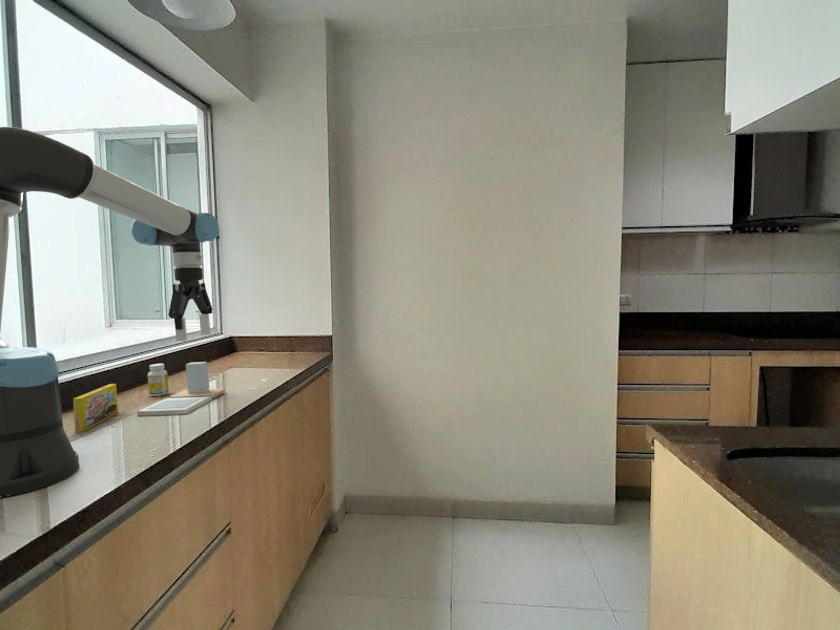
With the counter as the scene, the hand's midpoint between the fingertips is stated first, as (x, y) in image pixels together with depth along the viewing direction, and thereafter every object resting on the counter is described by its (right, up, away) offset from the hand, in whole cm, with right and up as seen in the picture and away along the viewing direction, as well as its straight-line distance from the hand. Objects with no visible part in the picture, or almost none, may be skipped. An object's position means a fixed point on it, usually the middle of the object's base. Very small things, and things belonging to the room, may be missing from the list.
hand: (194, 337), depth 135 cm
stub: (+1, -18, +1) cm, 18 cm away
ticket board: (0, -19, -11) cm, 22 cm away
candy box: (-14, -21, -21) cm, 33 cm away
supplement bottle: (-14, -19, +6) cm, 24 cm away
